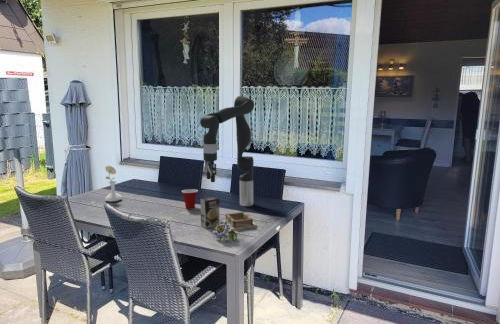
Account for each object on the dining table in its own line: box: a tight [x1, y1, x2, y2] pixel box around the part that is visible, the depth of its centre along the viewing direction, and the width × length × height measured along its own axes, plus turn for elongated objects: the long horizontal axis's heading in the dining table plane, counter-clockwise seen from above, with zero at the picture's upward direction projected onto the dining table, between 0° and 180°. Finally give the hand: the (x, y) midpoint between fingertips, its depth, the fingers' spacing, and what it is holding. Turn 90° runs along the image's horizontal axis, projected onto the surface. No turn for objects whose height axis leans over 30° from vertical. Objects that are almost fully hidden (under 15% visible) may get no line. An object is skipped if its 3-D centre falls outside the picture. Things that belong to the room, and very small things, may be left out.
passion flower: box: [212, 220, 240, 243], centre depth 191 cm, size 11×11×12 cm
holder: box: [221, 211, 258, 231], centre depth 213 cm, size 16×16×4 cm
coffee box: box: [200, 196, 220, 229], centre depth 210 cm, size 9×6×16 cm
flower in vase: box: [104, 165, 123, 203], centre depth 260 cm, size 13×11×25 cm
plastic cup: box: [181, 188, 199, 210], centre depth 243 cm, size 11×11×12 cm
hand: (210, 180), depth 206 cm, fingers open, 8 cm apart
